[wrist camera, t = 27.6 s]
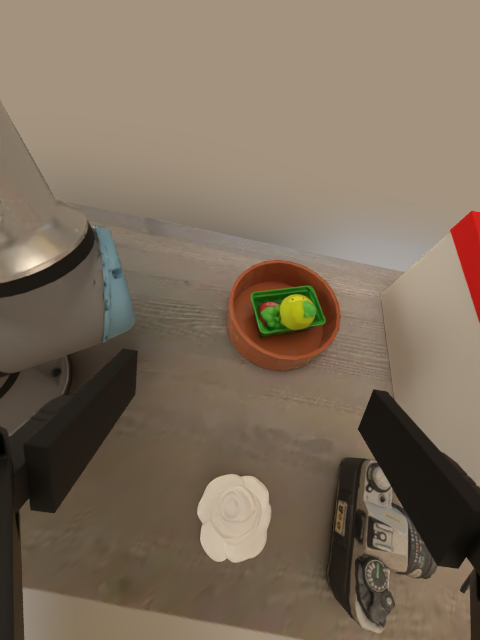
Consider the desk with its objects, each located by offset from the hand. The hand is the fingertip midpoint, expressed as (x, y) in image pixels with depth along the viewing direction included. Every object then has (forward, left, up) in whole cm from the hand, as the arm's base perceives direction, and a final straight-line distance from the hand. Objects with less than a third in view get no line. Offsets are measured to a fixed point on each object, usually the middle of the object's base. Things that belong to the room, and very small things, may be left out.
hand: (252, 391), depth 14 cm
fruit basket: (-1, +20, -27) cm, 34 cm away
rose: (+7, -8, -28) cm, 30 cm away
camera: (+23, 0, -28) cm, 36 cm away
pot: (-2, +20, -28) cm, 34 cm away
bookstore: (+29, +27, -28) cm, 49 cm away
